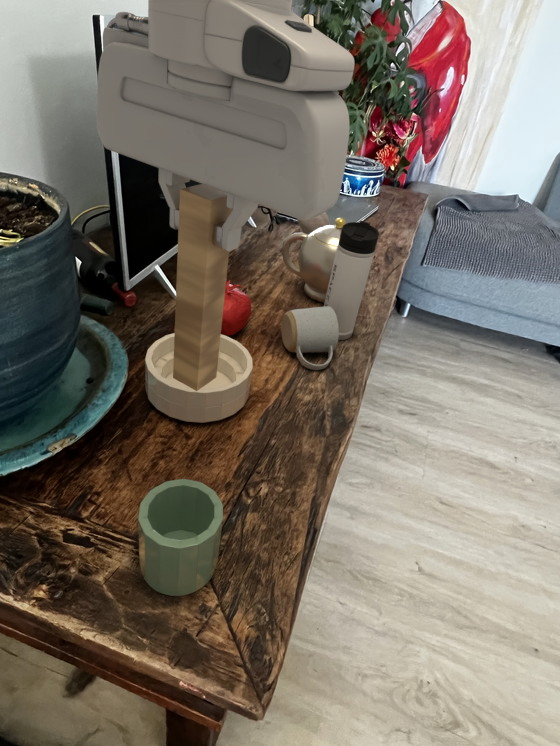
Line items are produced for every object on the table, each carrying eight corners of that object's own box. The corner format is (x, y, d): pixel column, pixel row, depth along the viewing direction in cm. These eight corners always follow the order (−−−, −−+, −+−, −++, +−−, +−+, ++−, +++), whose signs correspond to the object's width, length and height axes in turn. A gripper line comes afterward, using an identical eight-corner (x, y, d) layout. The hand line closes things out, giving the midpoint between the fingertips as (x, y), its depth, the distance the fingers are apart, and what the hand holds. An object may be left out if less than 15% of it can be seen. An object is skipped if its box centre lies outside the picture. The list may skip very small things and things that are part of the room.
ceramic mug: (276, 337, 87) (283, 299, 82) (319, 335, 90) (327, 298, 85) (295, 374, 79) (304, 334, 75) (341, 371, 82) (352, 332, 77)
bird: (281, 245, 121) (291, 183, 112) (333, 249, 124) (346, 189, 116) (285, 254, 117) (295, 190, 109) (338, 257, 121) (353, 195, 112)
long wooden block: (196, 391, 47) (211, 200, 36) (172, 378, 48) (179, 188, 37) (216, 377, 49) (235, 193, 38) (193, 364, 50) (205, 182, 39)
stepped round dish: (205, 442, 64) (207, 407, 61) (123, 393, 69) (122, 359, 66) (266, 390, 75) (272, 358, 71) (192, 351, 80) (194, 319, 76)
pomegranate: (256, 320, 91) (262, 273, 85) (238, 347, 83) (243, 298, 77) (205, 306, 92) (209, 259, 87) (183, 331, 84) (185, 282, 79)
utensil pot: (183, 612, 46) (186, 564, 41) (123, 566, 49) (119, 515, 44) (232, 555, 52) (239, 506, 47) (175, 516, 54) (177, 466, 50)
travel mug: (355, 327, 94) (383, 226, 82) (347, 344, 89) (377, 238, 77) (323, 318, 95) (347, 216, 83) (314, 334, 90) (338, 227, 78)
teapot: (364, 291, 107) (384, 217, 98) (352, 319, 97) (374, 239, 87) (286, 269, 110) (298, 196, 101) (266, 294, 100) (278, 214, 90)
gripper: (66, 1, 33) (82, 206, 41) (333, 62, 26) (289, 296, 34) (136, 11, 38) (138, 194, 46) (379, 65, 31) (330, 270, 39)
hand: (204, 238), depth 40 cm, fingers closed on long wooden block, 3 cm apart
